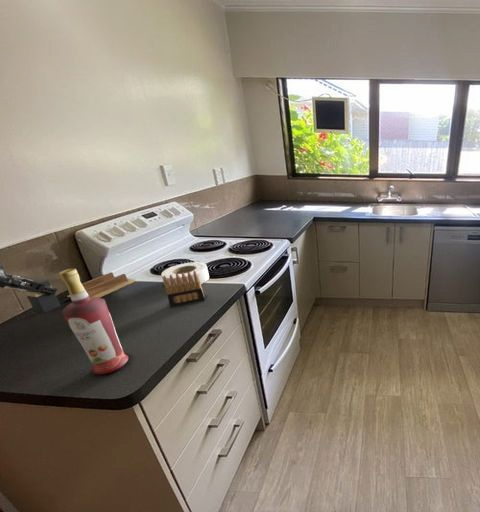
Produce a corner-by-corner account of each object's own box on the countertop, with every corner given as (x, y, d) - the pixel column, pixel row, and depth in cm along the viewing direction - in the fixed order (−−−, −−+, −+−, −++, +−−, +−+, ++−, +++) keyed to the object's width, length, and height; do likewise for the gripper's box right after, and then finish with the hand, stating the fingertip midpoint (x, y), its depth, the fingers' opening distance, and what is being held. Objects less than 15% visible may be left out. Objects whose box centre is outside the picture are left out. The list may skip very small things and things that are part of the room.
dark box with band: (34, 311, 86) (20, 284, 83) (51, 304, 90) (38, 278, 87) (44, 312, 86) (30, 286, 82) (61, 305, 89) (48, 280, 86)
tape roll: (187, 271, 128) (183, 260, 126) (217, 274, 125) (215, 263, 123) (154, 288, 114) (150, 276, 112) (188, 292, 111) (184, 279, 109)
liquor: (137, 356, 79) (98, 263, 68) (119, 376, 72) (72, 277, 61) (107, 359, 78) (62, 265, 67) (86, 380, 71) (32, 279, 60)
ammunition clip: (205, 298, 107) (197, 269, 103) (205, 300, 106) (197, 271, 101) (171, 305, 103) (161, 275, 98) (170, 307, 101) (160, 277, 97)
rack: (67, 298, 107) (63, 289, 105) (113, 279, 121) (109, 270, 120) (90, 301, 105) (86, 292, 103) (134, 281, 119) (131, 273, 118)
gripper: (-4, 260, 72) (73, 281, 88) (-43, 255, 75) (39, 277, 90) (-24, 289, 69) (59, 305, 85) (-64, 283, 72) (24, 300, 88)
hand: (48, 290), depth 88 cm, fingers closed on dark box with band, 4 cm apart
